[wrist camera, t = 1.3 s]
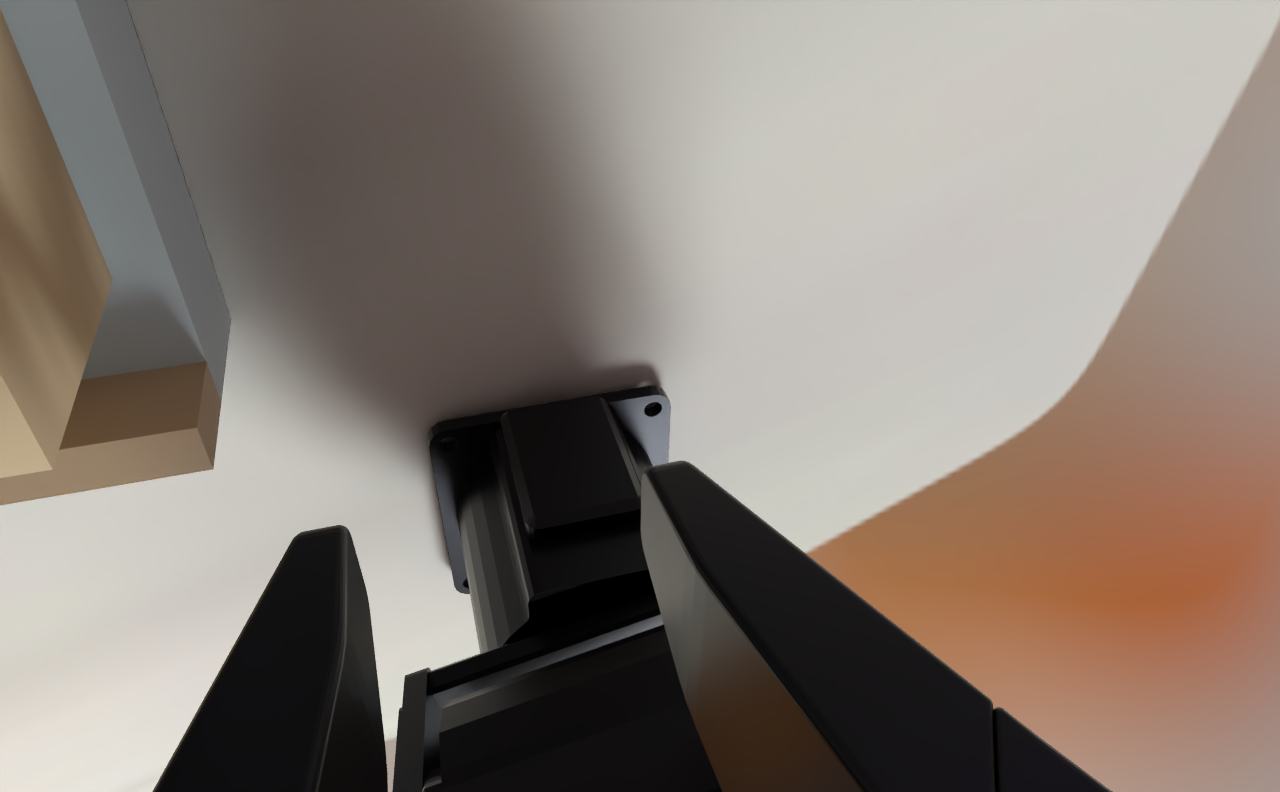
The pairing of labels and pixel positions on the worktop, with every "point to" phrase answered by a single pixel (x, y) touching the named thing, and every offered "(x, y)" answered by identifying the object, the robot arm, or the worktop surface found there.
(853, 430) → the worktop surface
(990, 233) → the worktop surface
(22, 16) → the board
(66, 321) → the oak block
